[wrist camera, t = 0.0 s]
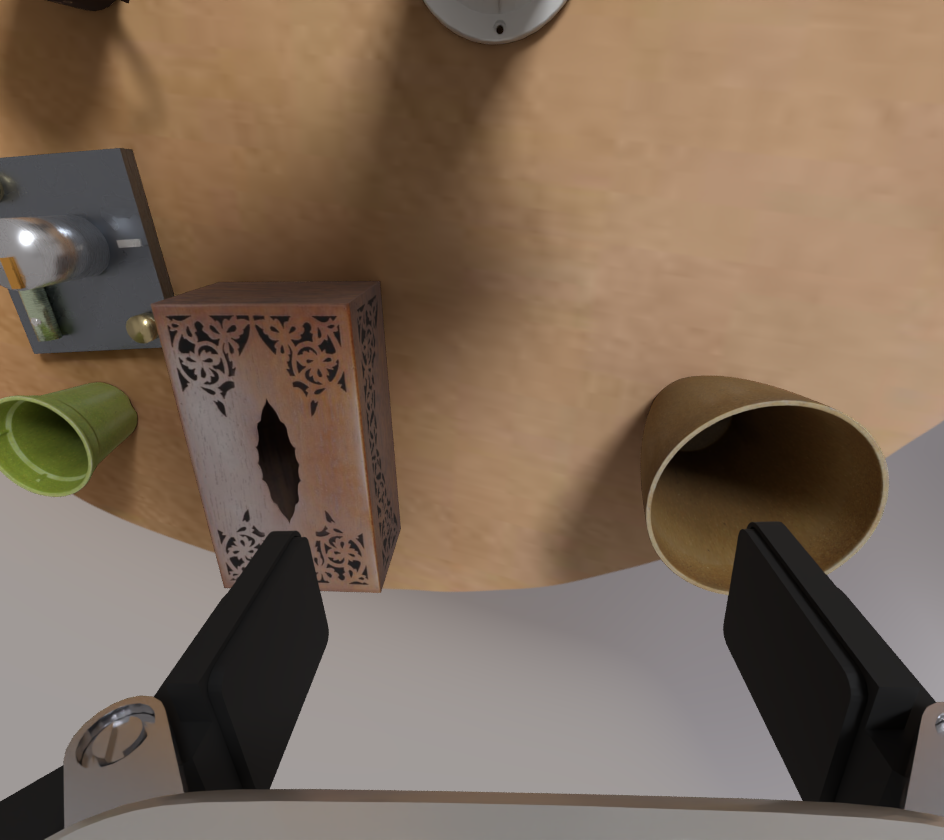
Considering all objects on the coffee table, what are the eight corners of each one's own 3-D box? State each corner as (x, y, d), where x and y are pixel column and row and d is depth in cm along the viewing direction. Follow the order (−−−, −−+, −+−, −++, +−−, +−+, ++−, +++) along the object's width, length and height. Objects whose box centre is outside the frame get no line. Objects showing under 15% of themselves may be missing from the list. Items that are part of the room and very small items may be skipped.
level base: (-27, 162, 44) (-69, 160, 40) (132, 149, 42) (102, 146, 39) (47, 349, 50) (16, 359, 47) (187, 342, 49) (165, 352, 46)
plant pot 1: (52, 426, 53) (-27, 467, 45) (69, 347, 50) (-14, 377, 42) (141, 466, 55) (79, 513, 47) (164, 393, 51) (101, 430, 43)
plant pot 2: (756, 309, 45) (878, 367, 30) (782, 456, 50) (897, 567, 35) (586, 367, 47) (621, 445, 33) (627, 500, 53) (674, 619, 38)
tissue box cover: (220, 281, 47) (150, 303, 37) (380, 280, 46) (349, 303, 37) (269, 524, 57) (224, 588, 48) (401, 527, 56) (380, 592, 47)
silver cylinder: (41, 216, 44) (-45, 221, 37) (97, 212, 43) (21, 216, 36) (63, 278, 45) (-14, 293, 39) (117, 275, 45) (49, 289, 38)
